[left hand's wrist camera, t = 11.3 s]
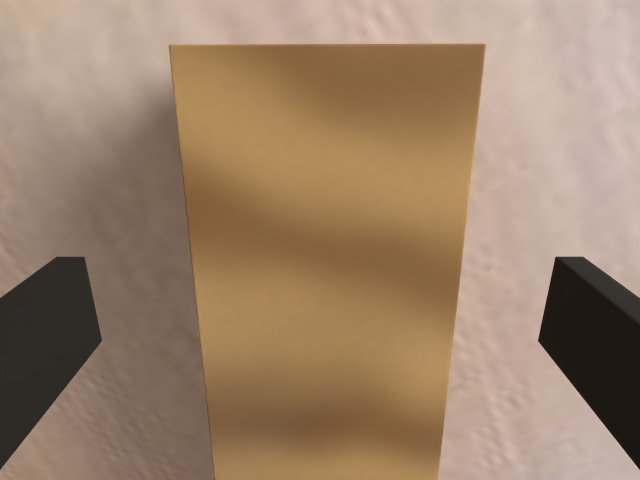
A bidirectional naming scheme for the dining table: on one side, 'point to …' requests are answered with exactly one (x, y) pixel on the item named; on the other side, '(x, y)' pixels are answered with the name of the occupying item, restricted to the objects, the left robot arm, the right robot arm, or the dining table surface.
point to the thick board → (326, 249)
